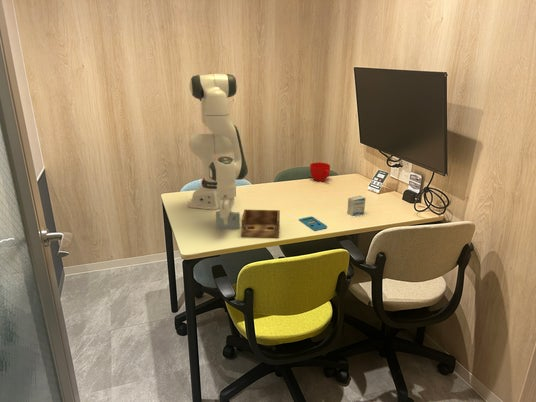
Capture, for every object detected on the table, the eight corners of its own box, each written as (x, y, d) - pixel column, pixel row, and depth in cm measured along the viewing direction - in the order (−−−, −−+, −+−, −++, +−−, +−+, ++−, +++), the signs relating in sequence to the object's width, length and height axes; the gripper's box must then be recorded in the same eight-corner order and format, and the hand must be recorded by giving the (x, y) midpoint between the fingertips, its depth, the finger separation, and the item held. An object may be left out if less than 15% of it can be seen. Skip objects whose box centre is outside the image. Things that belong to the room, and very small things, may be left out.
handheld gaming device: (314, 229, 185) (298, 218, 198) (314, 232, 185) (298, 220, 198) (329, 226, 189) (312, 215, 201) (329, 228, 189) (312, 217, 201)
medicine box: (352, 216, 203) (353, 200, 200) (346, 213, 206) (348, 197, 203) (364, 213, 206) (365, 197, 203) (358, 210, 210) (360, 195, 207)
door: (216, 229, 187) (215, 213, 184) (217, 226, 190) (216, 211, 187) (239, 229, 187) (238, 214, 184) (239, 227, 189) (239, 212, 186)
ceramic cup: (319, 185, 248) (320, 170, 244) (305, 178, 262) (306, 163, 258) (336, 183, 253) (337, 168, 249) (322, 175, 267) (323, 161, 263)
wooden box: (241, 236, 179) (241, 220, 177) (244, 224, 192) (244, 209, 189) (278, 237, 179) (279, 221, 176) (279, 225, 191) (279, 210, 188)
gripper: (230, 200, 172) (231, 229, 177) (236, 185, 191) (237, 212, 196) (215, 199, 172) (217, 228, 177) (223, 185, 191) (224, 212, 196)
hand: (227, 220), depth 186 cm, fingers open, 8 cm apart
